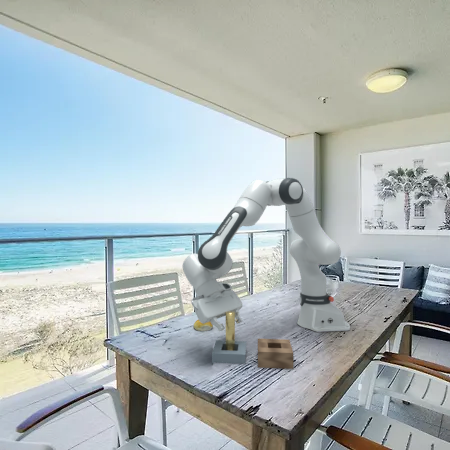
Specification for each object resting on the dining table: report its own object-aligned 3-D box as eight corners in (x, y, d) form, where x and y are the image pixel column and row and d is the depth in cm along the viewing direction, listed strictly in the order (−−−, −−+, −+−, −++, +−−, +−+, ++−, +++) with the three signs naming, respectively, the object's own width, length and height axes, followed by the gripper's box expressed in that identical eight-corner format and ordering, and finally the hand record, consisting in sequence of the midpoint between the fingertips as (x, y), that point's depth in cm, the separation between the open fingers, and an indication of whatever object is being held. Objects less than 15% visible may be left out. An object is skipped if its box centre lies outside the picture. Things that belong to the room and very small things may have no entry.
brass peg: (235, 356, 109) (235, 311, 109) (234, 360, 106) (234, 313, 106) (226, 356, 110) (226, 310, 109) (225, 360, 107) (225, 313, 106)
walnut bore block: (289, 356, 109) (289, 339, 109) (293, 372, 98) (293, 353, 98) (257, 355, 110) (257, 338, 110) (257, 370, 100) (258, 351, 99)
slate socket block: (246, 352, 113) (246, 341, 113) (245, 366, 102) (245, 354, 102) (216, 351, 114) (216, 340, 114) (211, 365, 103) (211, 353, 103)
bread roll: (210, 324, 144) (210, 315, 144) (214, 330, 135) (214, 321, 135) (192, 325, 142) (192, 316, 142) (194, 332, 133) (194, 323, 133)
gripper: (193, 293, 104) (215, 329, 98) (232, 283, 120) (253, 314, 113) (184, 304, 107) (205, 340, 101) (223, 293, 123) (243, 323, 116)
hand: (231, 326), depth 107 cm, fingers open, 8 cm apart
